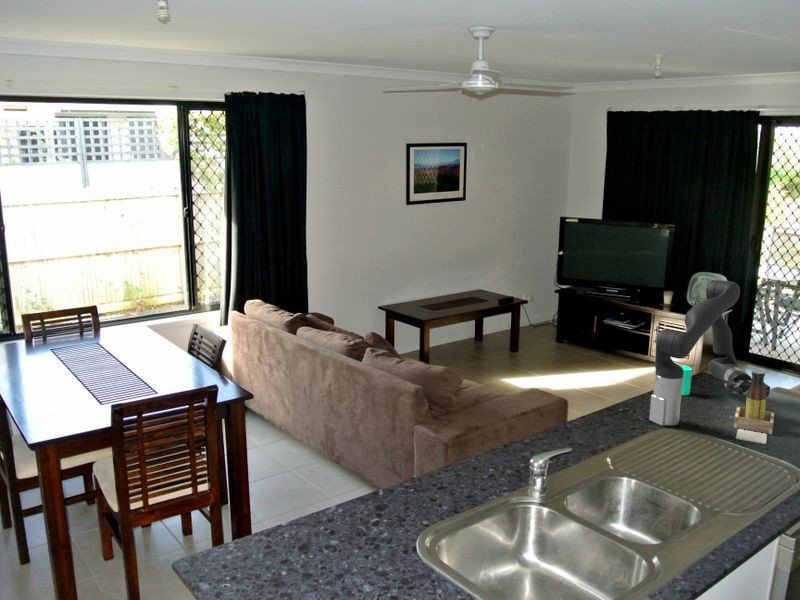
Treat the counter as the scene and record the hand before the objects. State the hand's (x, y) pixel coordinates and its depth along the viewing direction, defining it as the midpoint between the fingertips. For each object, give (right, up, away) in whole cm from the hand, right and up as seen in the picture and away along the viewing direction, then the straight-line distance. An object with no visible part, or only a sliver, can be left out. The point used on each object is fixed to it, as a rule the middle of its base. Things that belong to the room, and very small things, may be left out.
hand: (754, 393), depth 251 cm
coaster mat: (-6, -13, -10) cm, 18 cm away
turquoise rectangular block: (-12, -4, +34) cm, 36 cm away
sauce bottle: (0, -11, 0) cm, 11 cm away
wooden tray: (0, -11, 0) cm, 11 cm away
